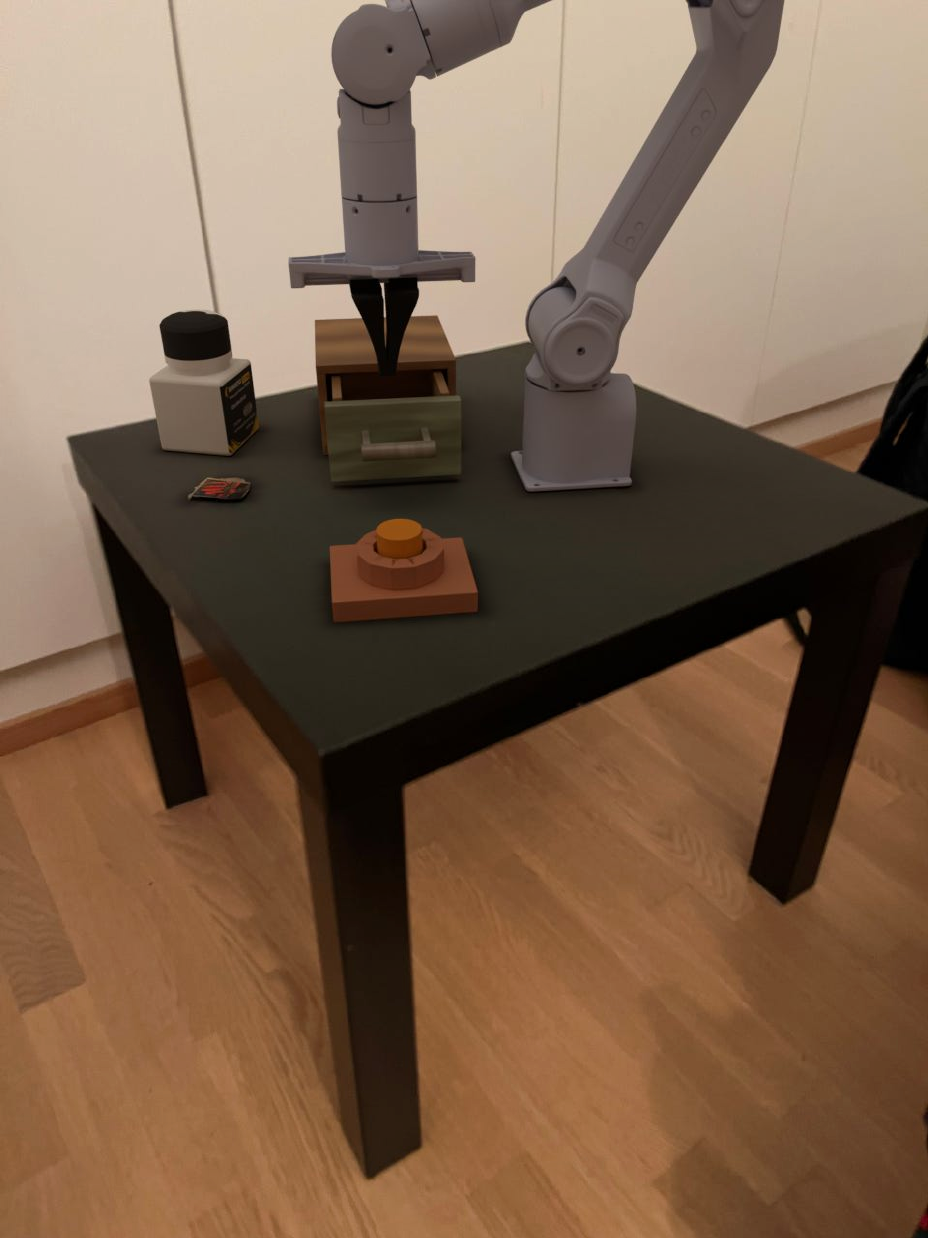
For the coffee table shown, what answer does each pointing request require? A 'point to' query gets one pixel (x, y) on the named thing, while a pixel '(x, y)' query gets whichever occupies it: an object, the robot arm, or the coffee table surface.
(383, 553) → the button
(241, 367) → the medicine bottle
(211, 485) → the matchbox
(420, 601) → the button box
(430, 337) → the cabinet
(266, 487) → the coffee table surface
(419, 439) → the drawer
